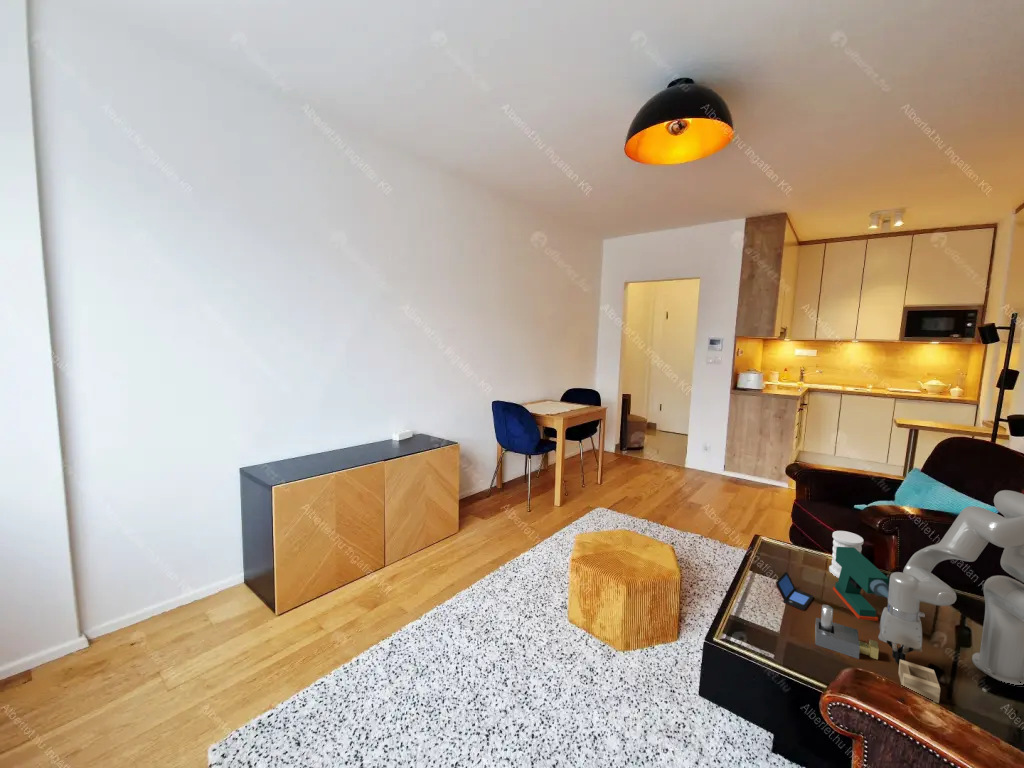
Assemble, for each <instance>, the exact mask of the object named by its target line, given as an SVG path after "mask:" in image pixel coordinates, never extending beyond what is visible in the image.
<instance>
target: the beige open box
mask: <svg viewBox="0 0 1024 768" xmlns="http://www.w3.org/2000/svg"><path fill="white" fill-rule="evenodd" d="M898 677H899V681H900V686H901V685H903V686H905V687H907V688H909V689H911V690H913V691H915V692H917V693H919V694H921V695H923V696H925V697H927V698H929V699H931V700H933V701H932V702H934V703H938V704H940V696H941V687H940V682H939V681H938V680H939V679H938V678H937V675H936V672H935V670H934V669H932V668H929V667H925V666H923V665H921V664H920V665H919V664H916V663H913V662H910V661H907V660H905V661H904V660H901V659H900V661H899V664H898ZM931 700H930V701H931Z"/></svg>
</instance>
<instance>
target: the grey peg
mask: <svg viewBox="0 0 1024 768" xmlns="http://www.w3.org/2000/svg"><path fill="white" fill-rule="evenodd" d="M820 616H821V617H820V619H821V630H823V631H827V632H830V633H832V622H833V616H834V608H833V607H832V606H831V605H828V604H822V605H821V615H820Z"/></svg>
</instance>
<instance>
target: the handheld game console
mask: <svg viewBox="0 0 1024 768" xmlns="http://www.w3.org/2000/svg"><path fill="white" fill-rule="evenodd" d="M775 586H776V588H777V590H778V592H779V594H780V597H781V598H782V599H783V600H782V601H783V603H784V604H787V605H789V606H792V607H793V608H796V609H798V610H800V611H806V609H807V608H808V606H809V605H810V604H811V603H812V601H813V600H814V595H812V594H810V593H808V592H805V591H803V590H801V589H798V588H797V587H796V586H795V584H794V583H793V581H792V579H791V576H790V575H789V573H788V572H783V574H781V576H780V577H779V578H778V579H777V580H776V581H775Z"/></svg>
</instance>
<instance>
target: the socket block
mask: <svg viewBox="0 0 1024 768" xmlns="http://www.w3.org/2000/svg"><path fill="white" fill-rule="evenodd" d="M814 626H815V627H814V629H815V631H814V632H815V633H814V634H815V635H814V636H815V639H814V640H815V642H814V643H815V646H818V647H821V648H824V649H827V650H831V651H833V652H836V653H839V654H843V655H845V656H849V657H852V658H855V659H857V660H859V659H860V652H859V650H860V644H859V641H860V639H859V631H858V629H857V628H854V627H849V626H847V625H845V624H840V623H838V622H837V623H836V622H833V621H832V633H830V632H827V631H823V630H821V617H820V618H819V617H815V625H814ZM833 633H834V634H833Z"/></svg>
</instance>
